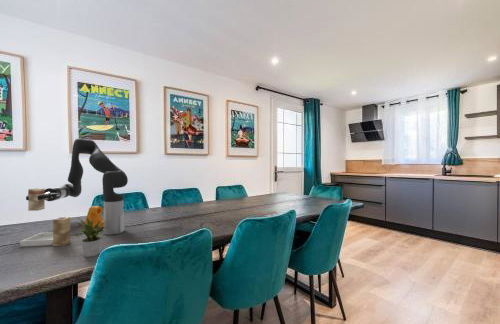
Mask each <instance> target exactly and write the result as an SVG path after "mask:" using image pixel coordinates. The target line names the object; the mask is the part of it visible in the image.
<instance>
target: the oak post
mask: <svg viewBox="0 0 500 324" xmlns="http://www.w3.org/2000/svg"><path fill="white" fill-rule="evenodd" d="M70 222H71V217H70V216H59V217H57V218H54V219H53V221H52V224H53V225H52V227H53V228H52V232H53V245H52V247H65V246H66V245H68V244H70V243H71V223H70Z"/></svg>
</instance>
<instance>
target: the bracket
mask: <svg viewBox="0 0 500 324" xmlns="http://www.w3.org/2000/svg"><path fill="white" fill-rule="evenodd" d="M103 213H104V207H102V206H99V205H92V206H90V207H89V208H88V212H87V215H86V217H87V218H88V219H89V220H90V221H91V222H92V220H93V218H95V219H94V220H93V229H94V227H95V225H96V224H97V223H99V221H100V219H101V221H100V224H99V226H100V225H101V224H102V223H103V222H104V219H103V217H102V214H103ZM94 216H95V217H94ZM87 218H85V221H84V223H85V224H87ZM87 225H88V224H87ZM83 226H84V225H83ZM84 227H85V226H84ZM84 227H83V228H84ZM98 228H99V227H98ZM98 228H97V229H98ZM102 228H104V223H103V224H102V225H101V226H100V228H99V229H102Z"/></svg>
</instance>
